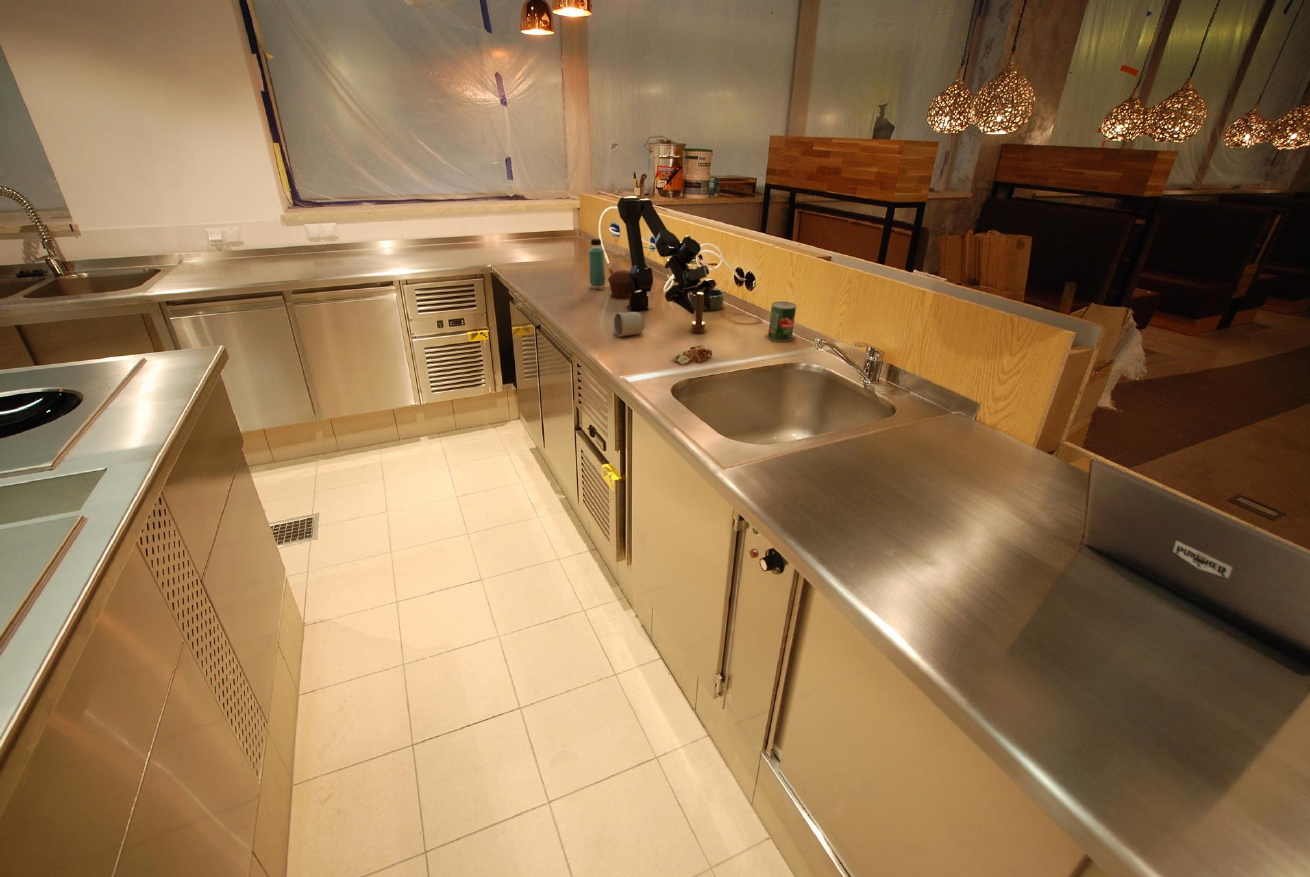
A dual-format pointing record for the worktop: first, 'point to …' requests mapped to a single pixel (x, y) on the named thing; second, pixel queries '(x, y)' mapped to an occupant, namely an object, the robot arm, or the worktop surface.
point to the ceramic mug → (628, 323)
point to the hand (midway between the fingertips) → (702, 311)
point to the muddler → (699, 315)
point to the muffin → (619, 283)
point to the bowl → (715, 299)
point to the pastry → (694, 354)
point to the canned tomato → (782, 321)
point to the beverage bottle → (596, 264)
